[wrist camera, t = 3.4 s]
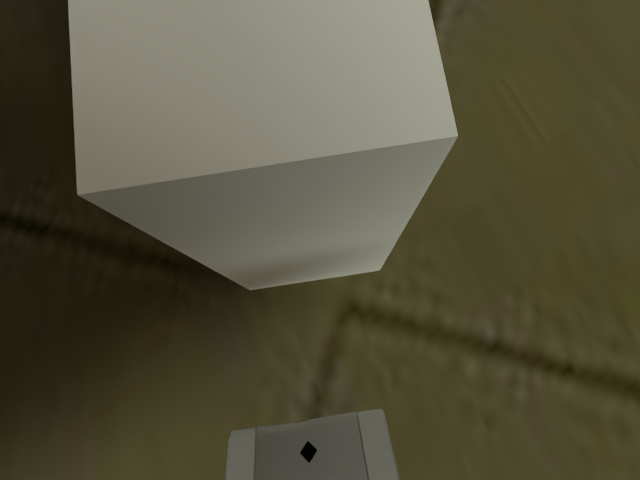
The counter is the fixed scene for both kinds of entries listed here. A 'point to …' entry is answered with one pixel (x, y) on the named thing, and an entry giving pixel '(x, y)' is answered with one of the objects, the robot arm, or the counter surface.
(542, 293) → the counter surface
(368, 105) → the boxed book
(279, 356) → the counter surface
